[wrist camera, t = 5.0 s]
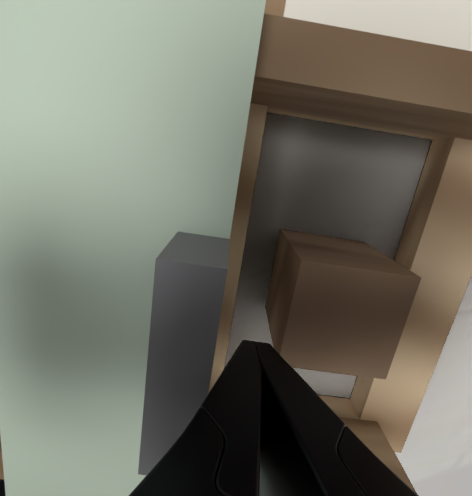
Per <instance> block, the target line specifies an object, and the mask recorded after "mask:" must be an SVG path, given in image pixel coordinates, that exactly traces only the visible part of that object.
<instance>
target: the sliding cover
mask: <svg viewBox="0 0 472 496" xmlns="http://www.w3.org/2000/svg"><path fill="white" fill-rule="evenodd" d="M265 4H266V0H0V436H1V448H2V459H3V471H4V483H5V495H6V496H129V495H130V493H131V492H132V491H133V490H134V489H135V488H136V487H137V485H138V484H139V483H140V482H141V481H142V480H143V479H144V477H145V476H146V475H147V474H148V473H149V472H150V471H151V469H152V468H153V467H154V466H155V465H156V464H157V463H158V461H159V460H160V459H161V458H162V457H163V456H164V455H165V453H166V452H167V451H168V450H169V449H170V447H171V446H172V445H173V444H174V443H175V441H176V440H177V439H178V438H179V436H180V435H181V434H182V433H183V431H184V430H185V428H186V427H187V425H188V424H189V423H190V421H191V420H192V418H193V417H194V415H195V414H196V412H197V410H198V409H199V408H200V406H201V404H202V403H203V401H204V400H205V398H206V397H207V395H208V393H209V387H210V380H211V374H212V367H213V361H214V354H215V348H216V341H217V335H218V329H219V322H220V316H221V309H222V303H223V296H224V290H225V283H226V277H227V270H228V257H229V242H230V234H231V227H232V221H233V214H234V208H235V201H236V195H237V188H238V181H239V175H240V168H241V162H242V155H243V149H244V142H245V135H246V129H247V122H248V116H249V109H250V102H251V96H252V89H253V83H254V76H255V70H256V63H257V56H258V50H259V43H260V37H261V30H262V24H263V17H264V10H265Z"/></svg>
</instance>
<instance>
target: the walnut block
mask: <svg viewBox="0 0 472 496" xmlns="http://www.w3.org/2000/svg"><path fill="white" fill-rule="evenodd" d="M420 281H421V277H420V276H418V275H416V274H415V273H413V272H412V271H410V270H408V269H407V268H405V267H404V266H402V265H400V264H399V263H397V262H396V261H394V260H392V259H391V258H389V257H388V256H386V255H384V254H383V253H381V252H380V251H378V250H376V249H375V248H373V247H372V246H370V245H368V244H367V243H365V242H361V241H355V240H348V239H341V238H335V237H328V236H322V235H315V234H308V233H302V232H295V231H289V230H282V229H281V230H280V235H279V240H278V245H277V250H276V255H275V260H274V265H273V270H272V275H271V280H270V285H269V290H268V295H267V300H266V305H265V308H266V313H267V317H268V322H269V327H270V332H271V337H272V341H273V346H274V349H275V350H276V351H277V352H278V353H279V354H280V355H281V356H282V357H283V359H284V360H285V361H286V362H287V363H288V364H289V365H290V366H291V367H293V368H301V369H309V370H317V371H324V372H332V373H340V374H347V375H355V376H363V377H371V378H378V379H386V378H387V375H388V372H389V369H390V366H391V364H392V361H393V358H394V355H395V352H396V349H397V346H398V344H399V341H400V338H401V335H402V332H403V329H404V326H405V324H406V321H407V318H408V315H409V312H410V309H411V306H412V304H413V301H414V298H415V295H416V292H417V289H418V286H419V284H420Z"/></svg>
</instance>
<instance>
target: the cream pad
mask: <svg viewBox="0 0 472 496" xmlns="http://www.w3.org/2000/svg"><path fill="white" fill-rule="evenodd" d="M283 17H287V18H293V19H298V20H304V21H309V22H314V23H320V24H325V25H331V26H336V27H342V28H347V29H353V30H358V31H364V32H369V33H375V34H380V35H386V36H391V37H397V38H402V39H407V40H413V41H418V42H424V43H429V44H435V45H440V46H446V47H451V48H457V49H462V50H468V51H472V0H286V1H285V7H284V13H283Z"/></svg>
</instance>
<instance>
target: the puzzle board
mask: <svg viewBox="0 0 472 496" xmlns="http://www.w3.org/2000/svg"><path fill="white" fill-rule="evenodd" d="M285 1H286V0H266V4H265V10H264V17H263V24H262V30H261V37H260V43H259V50H258V56H257V63H256V70H255V76H254V83H253V89H252V96H251V102H250V109H249V116H248V122H247V129H246V135H245V142H244V149H243V155H242V162H241V168H240V175H239V181H238V188H237V195H236V201H235V208H234V214H233V221H232V227H231V234H230V242H229V257H228V270H227V277H226V283H225V290H224V296H223V303H222V309H221V316H220V322H219V329H218V335H217V341H216V348H215V354H214V361H213V367H212V374H211V380H210V387H209V392H210V390H211V389H212V387H213V386H214V384H215V382H216V381H217V379H218V378H219V376H220V375H221V373H222V372H223V370H224V365H225V359H226V353H227V347H228V341H229V335H230V329H231V324H232V318H233V312H234V306H235V300H236V294H237V288H238V282H239V276H240V270H241V264H242V258H243V252H244V246H245V240H246V234H247V228H248V222H249V216H250V210H251V204H252V198H253V192H254V186H255V180H256V174H257V168H258V162H259V156H260V150H261V144H262V138H263V132H264V126H265V120H266V114H267V112H269V113H275V114H281V115H287V116H293V117H299V118H305V119H311V120H317V121H323V122H329V123H335V124H341V125H347V126H353V127H359V128H365V129H371V130H377V131H383V132H389V133H395V134H400V135H406V136H412V137H418V138H424V139H430V140H432V143H431V146H430V149H429V152H428V155H427V158H426V162H425V165H424V168H423V171H422V174H421V177H420V180H419V184H418V187H417V190H416V193H415V196H414V199H413V202H412V206H411V209H410V212H409V215H408V218H407V221H406V225H405V228H404V231H403V234H402V237H401V240H400V243H399V247H398V250H397V253H396V256H395V259H394V261H396V262H397V263H399V264H400V265H402V266H404V267H405V268H407V269H408V270H410V271H412V272H413V273H415V274H416V275H418V276H420V277H421V281H420V284H419V286H418V289H417V292H416V295H415V298H414V301H413V304H412V306H411V309H410V312H409V315H408V318H407V321H406V324H405V326H404V329H403V332H402V335H401V338H400V341H399V344H398V346H397V349H396V352H395V355H394V358H393V361H392V364H391V366H390V369H389V372H388V375H387V378H386V379H378V378H371V377H363V376H357V379H356V382H355V385H354V389H353V392H352V395H351V398H350V399H347V398H339V397H331V396H323V395H318V396H319V397H320V398H321V399H322V400H323V401H324V402H325V403H326V404H327V405H328V406H329V407H330V408H331V409H332V410H333V412H334V413H335V414H336V415H337V416H338V417H339V418H340V419H341V420H342V421H343V422H344V423H345V426H348V427H349V428H350V429H351V430H352V432H353V433H354V434H355V435H356V436H357V437H358V438H359V439H360V440H361V441H362V442H363V443H364V444H365V445H366V446H367V447H368V448H369V449H370V450H371V451H372V452H373V453H374V454H375V455H376V456H377V457H378V458H379V459H380V460H381V461H382V462H383V463H384V464H385V465H386V466H387V467H388V468H389V469H390V470H392V471H393V472H394V473H395V474H396V475H397V476H398V477H399V478H400V479H401V480H402V481H403V482H404V483H405V484H407V485H408V486H409V487H410V488H411V489H412V490H413V491H414V492H415V493H416V491H415V489H414V488H413V486H412V484H411V482H410V480H409V478H408V477H407V475H406V473H405V471H404V469H403V467H402V466H401V464H400V462H399V460H398V458H397V456H396V455H395V453H394V452H400V453H401V451H402V449H403V446H404V444H405V441H406V439H407V436H408V434H409V431H410V429H411V426H412V424H413V421H414V419H415V416H416V414H417V411H418V409H419V406H420V404H421V401H422V399H423V396H424V394H425V391H426V389H427V386H428V384H429V381H430V379H431V376H432V374H433V371H434V369H435V366H436V364H437V361H438V359H439V356H440V354H441V351H442V349H443V346H444V344H445V341H446V339H447V336H448V334H449V331H450V329H451V326H452V324H453V321H454V319H455V316H456V314H457V311H458V309H459V306H460V304H461V301H462V299H463V296H464V294H465V291H466V289H467V286H468V284H469V281H470V279H471V276H472V51H468V50H462V49H457V48H451V47H446V46H440V45H435V44H429V43H424V42H418V41H413V40H407V39H402V38H397V37H391V36H386V35H380V34H375V33H369V32H364V31H358V30H353V29H347V28H342V27H336V26H331V25H325V24H320V23H314V22H309V21H304V20H298V19H293V18H287V17H283V13H284V7H285ZM0 479H3V480H4V471H3V459H2V448H1V436H0ZM416 494H417V493H416Z"/></svg>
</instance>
